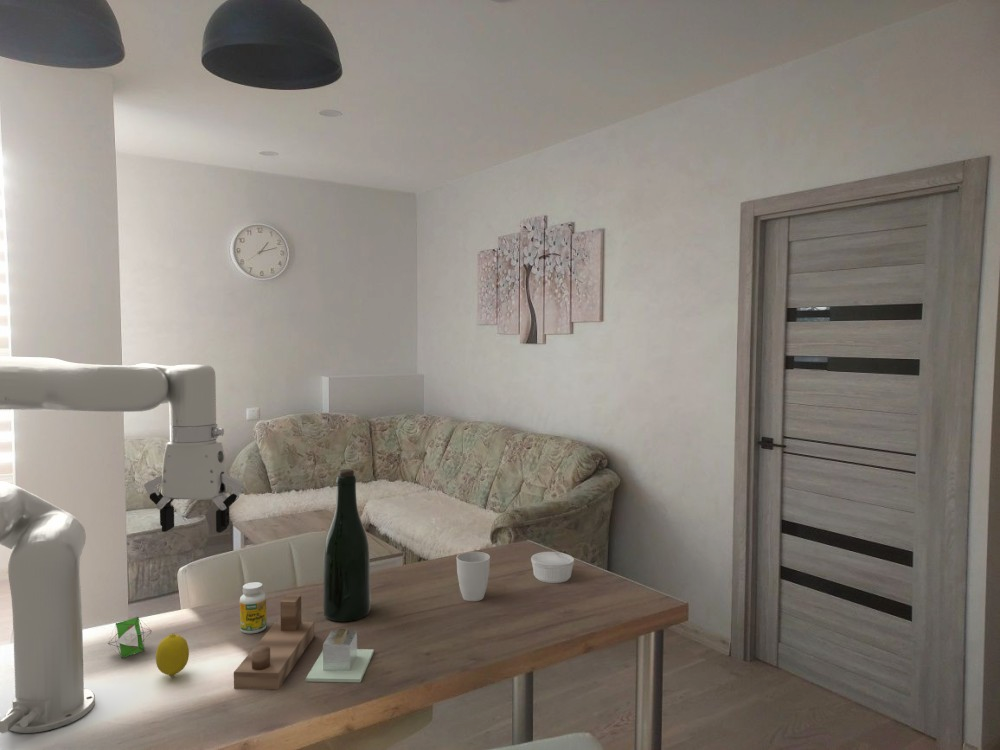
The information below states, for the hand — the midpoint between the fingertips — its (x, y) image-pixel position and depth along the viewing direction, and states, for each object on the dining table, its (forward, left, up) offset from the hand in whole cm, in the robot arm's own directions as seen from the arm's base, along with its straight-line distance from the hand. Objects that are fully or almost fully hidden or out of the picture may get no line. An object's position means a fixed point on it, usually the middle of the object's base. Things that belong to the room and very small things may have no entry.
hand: (195, 530), depth 123 cm
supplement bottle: (+24, -1, -28) cm, 37 cm away
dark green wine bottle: (+33, -19, -28) cm, 48 cm away
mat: (+8, -24, -28) cm, 38 cm away
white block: (+8, -24, -28) cm, 37 cm away
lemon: (+3, +6, -28) cm, 29 cm away
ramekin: (+59, -67, -29) cm, 94 cm away
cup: (+44, -47, -28) cm, 70 cm away
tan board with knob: (+10, -11, -28) cm, 32 cm away
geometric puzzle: (+12, +19, -29) cm, 36 cm away
